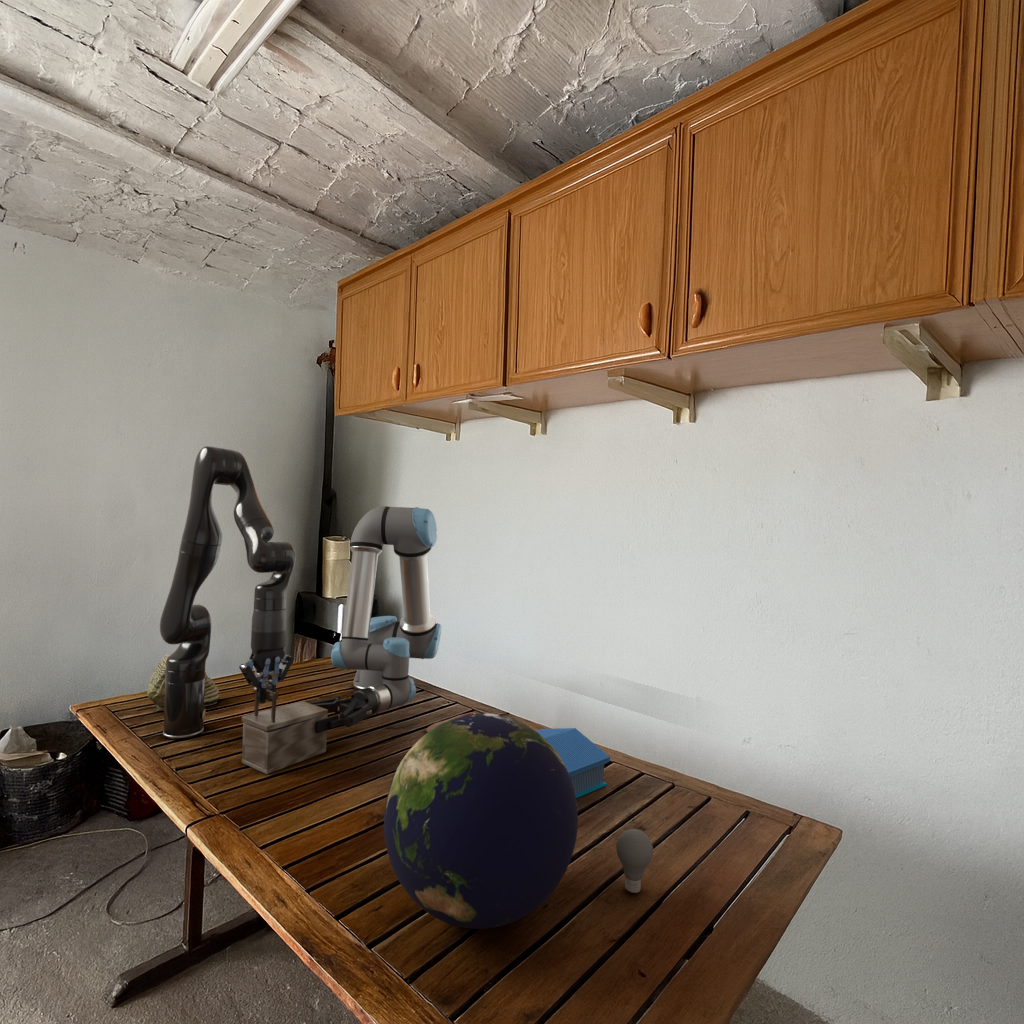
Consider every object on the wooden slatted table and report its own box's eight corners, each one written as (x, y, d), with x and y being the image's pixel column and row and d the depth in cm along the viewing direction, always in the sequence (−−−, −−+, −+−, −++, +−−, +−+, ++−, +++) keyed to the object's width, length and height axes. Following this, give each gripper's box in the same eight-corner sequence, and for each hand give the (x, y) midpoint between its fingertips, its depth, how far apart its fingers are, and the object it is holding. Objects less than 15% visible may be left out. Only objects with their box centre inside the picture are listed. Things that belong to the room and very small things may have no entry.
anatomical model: (422, 719, 171) (435, 706, 182) (421, 734, 171) (435, 720, 182) (469, 725, 168) (480, 711, 179) (469, 740, 168) (479, 725, 179)
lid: (266, 731, 143) (268, 696, 143) (241, 721, 148) (243, 687, 148) (327, 714, 157) (329, 681, 157) (302, 705, 162) (304, 674, 162)
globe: (338, 940, 91) (346, 732, 90) (439, 840, 119) (446, 681, 118) (534, 1012, 80) (544, 775, 79) (594, 883, 107) (603, 707, 107)
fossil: (144, 707, 182) (145, 655, 182) (212, 696, 194) (213, 647, 194) (151, 716, 175) (153, 662, 175) (221, 703, 188) (223, 653, 188)
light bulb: (610, 879, 108) (613, 822, 108) (644, 879, 109) (647, 822, 109) (619, 902, 102) (622, 840, 102) (655, 901, 103) (658, 840, 103)
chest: (266, 774, 143) (268, 733, 143) (241, 762, 149) (243, 723, 148) (326, 751, 157) (327, 714, 157) (301, 742, 162) (302, 705, 162)
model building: (485, 848, 116) (487, 795, 116) (411, 798, 134) (413, 751, 134) (618, 790, 143) (620, 746, 142) (541, 754, 161) (543, 715, 161)
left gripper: (252, 634, 139) (248, 712, 140) (303, 626, 151) (300, 698, 151) (232, 629, 144) (229, 705, 144) (284, 621, 155) (281, 691, 155)
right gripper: (398, 723, 169) (332, 749, 150) (341, 705, 181) (273, 726, 163) (399, 696, 169) (333, 717, 150) (342, 679, 181) (275, 697, 163)
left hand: (265, 701), depth 147 cm, fingers closed on lid
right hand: (302, 722), depth 156 cm, fingers closed on chest, 10 cm apart
